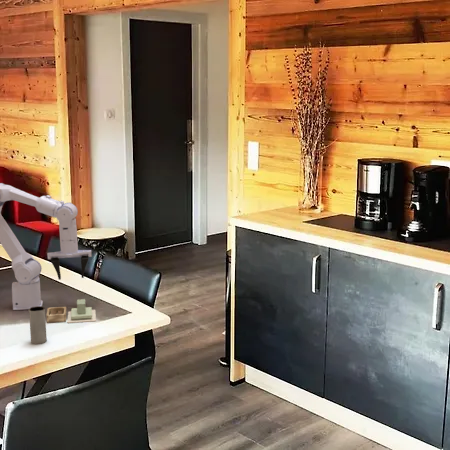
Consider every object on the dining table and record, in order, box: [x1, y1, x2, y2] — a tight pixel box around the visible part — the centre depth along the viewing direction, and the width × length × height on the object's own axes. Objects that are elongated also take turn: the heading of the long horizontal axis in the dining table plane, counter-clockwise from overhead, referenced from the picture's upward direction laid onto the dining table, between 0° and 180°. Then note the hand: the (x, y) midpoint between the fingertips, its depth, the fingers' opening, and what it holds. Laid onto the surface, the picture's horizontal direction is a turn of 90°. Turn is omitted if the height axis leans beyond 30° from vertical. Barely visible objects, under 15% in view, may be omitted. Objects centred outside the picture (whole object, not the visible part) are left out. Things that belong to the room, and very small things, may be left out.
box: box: [45, 306, 68, 324], centre depth 221 cm, size 6×8×2 cm
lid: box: [71, 298, 93, 319], centre depth 222 cm, size 7×9×5 cm
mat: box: [66, 309, 97, 324], centre depth 222 cm, size 9×11×1 cm
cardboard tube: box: [28, 305, 48, 345], centre depth 200 cm, size 4×4×10 cm
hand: (71, 278), depth 230 cm, fingers open, 7 cm apart
